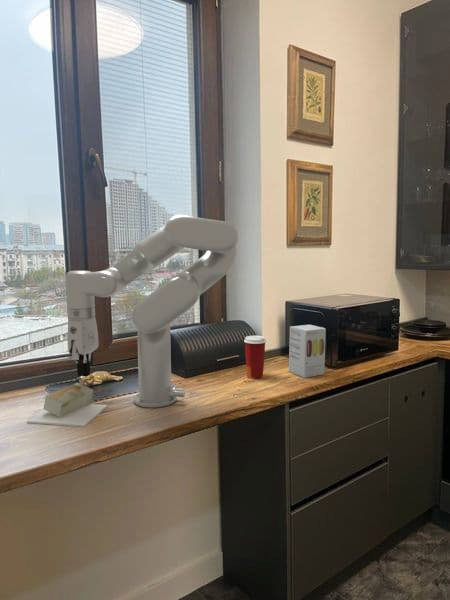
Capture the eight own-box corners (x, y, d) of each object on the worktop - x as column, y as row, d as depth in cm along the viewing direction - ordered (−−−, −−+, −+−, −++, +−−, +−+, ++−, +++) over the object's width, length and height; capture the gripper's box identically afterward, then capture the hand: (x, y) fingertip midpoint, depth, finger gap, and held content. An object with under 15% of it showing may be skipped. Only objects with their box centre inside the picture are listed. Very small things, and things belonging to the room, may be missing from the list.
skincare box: (94, 389, 126) (63, 403, 115) (91, 403, 127) (60, 418, 116) (76, 381, 128) (44, 395, 117) (74, 395, 129) (42, 409, 118)
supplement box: (304, 378, 150) (305, 330, 148) (287, 371, 159) (288, 326, 156) (325, 374, 155) (326, 327, 153) (308, 368, 163) (309, 323, 161)
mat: (107, 406, 125) (107, 405, 125) (84, 426, 111) (84, 425, 111) (55, 403, 127) (55, 402, 127) (26, 422, 114) (26, 421, 114)
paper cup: (269, 375, 154) (270, 336, 152) (259, 381, 148) (259, 340, 146) (250, 372, 158) (250, 334, 156) (239, 377, 152) (239, 338, 150)
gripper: (80, 318, 117) (83, 384, 120) (105, 310, 132) (107, 369, 134) (54, 317, 119) (58, 382, 121) (82, 309, 133) (84, 367, 136)
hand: (84, 375), depth 128 cm, fingers closed
